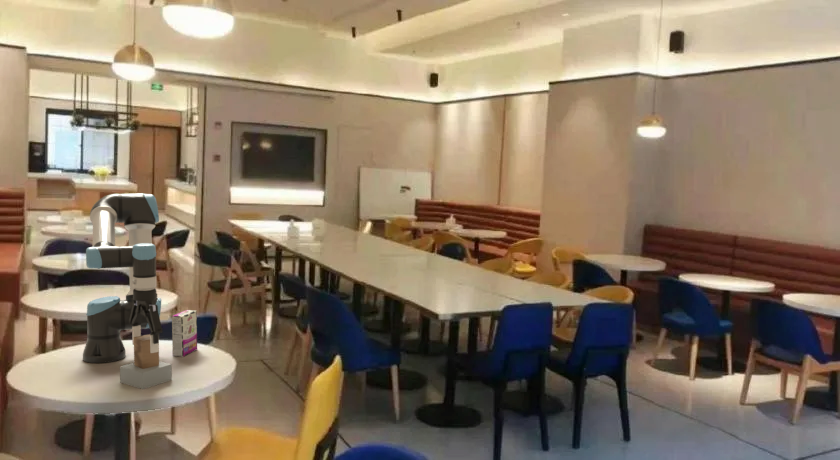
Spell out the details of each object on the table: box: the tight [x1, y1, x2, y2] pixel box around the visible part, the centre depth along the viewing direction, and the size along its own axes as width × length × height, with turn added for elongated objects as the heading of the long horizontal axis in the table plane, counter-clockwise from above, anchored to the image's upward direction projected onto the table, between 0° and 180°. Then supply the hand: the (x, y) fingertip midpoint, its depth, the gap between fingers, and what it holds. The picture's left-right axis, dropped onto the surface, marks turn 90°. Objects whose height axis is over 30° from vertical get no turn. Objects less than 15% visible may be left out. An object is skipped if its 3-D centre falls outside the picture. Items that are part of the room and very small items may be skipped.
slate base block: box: [119, 360, 173, 390], centre depth 242 cm, size 12×12×6 cm
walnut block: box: [133, 333, 160, 369], centre depth 241 cm, size 6×6×10 cm
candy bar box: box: [171, 309, 198, 358], centre depth 277 cm, size 11×5×16 cm, turn 168°
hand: (145, 348), depth 241 cm, fingers open, 13 cm apart
